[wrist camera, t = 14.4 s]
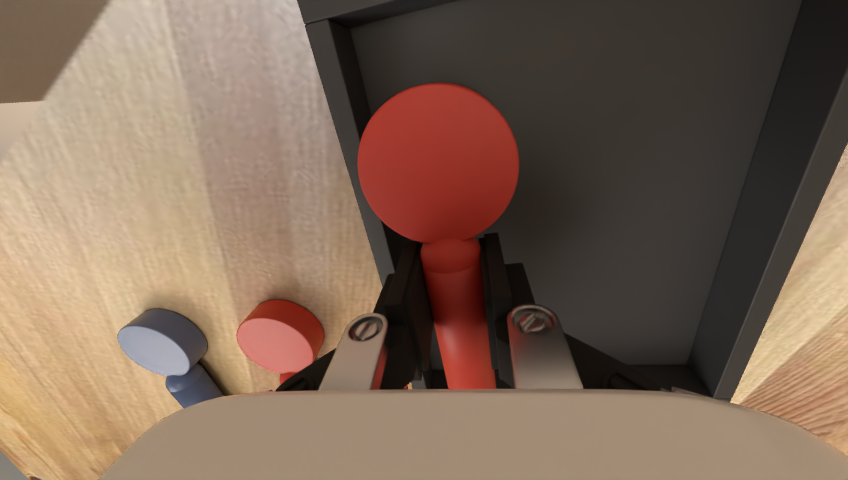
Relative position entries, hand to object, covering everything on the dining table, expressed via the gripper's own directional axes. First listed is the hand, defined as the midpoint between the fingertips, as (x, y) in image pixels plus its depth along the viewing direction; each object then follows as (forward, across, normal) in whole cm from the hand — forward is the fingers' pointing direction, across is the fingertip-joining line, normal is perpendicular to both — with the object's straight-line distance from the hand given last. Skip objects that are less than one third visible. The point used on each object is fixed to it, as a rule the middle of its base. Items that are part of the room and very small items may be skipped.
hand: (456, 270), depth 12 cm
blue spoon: (+3, +21, +10) cm, 23 cm away
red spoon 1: (+3, +12, +10) cm, 16 cm away
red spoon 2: (0, 0, 0) cm, 0 cm away
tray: (+3, -4, 0) cm, 5 cm away
